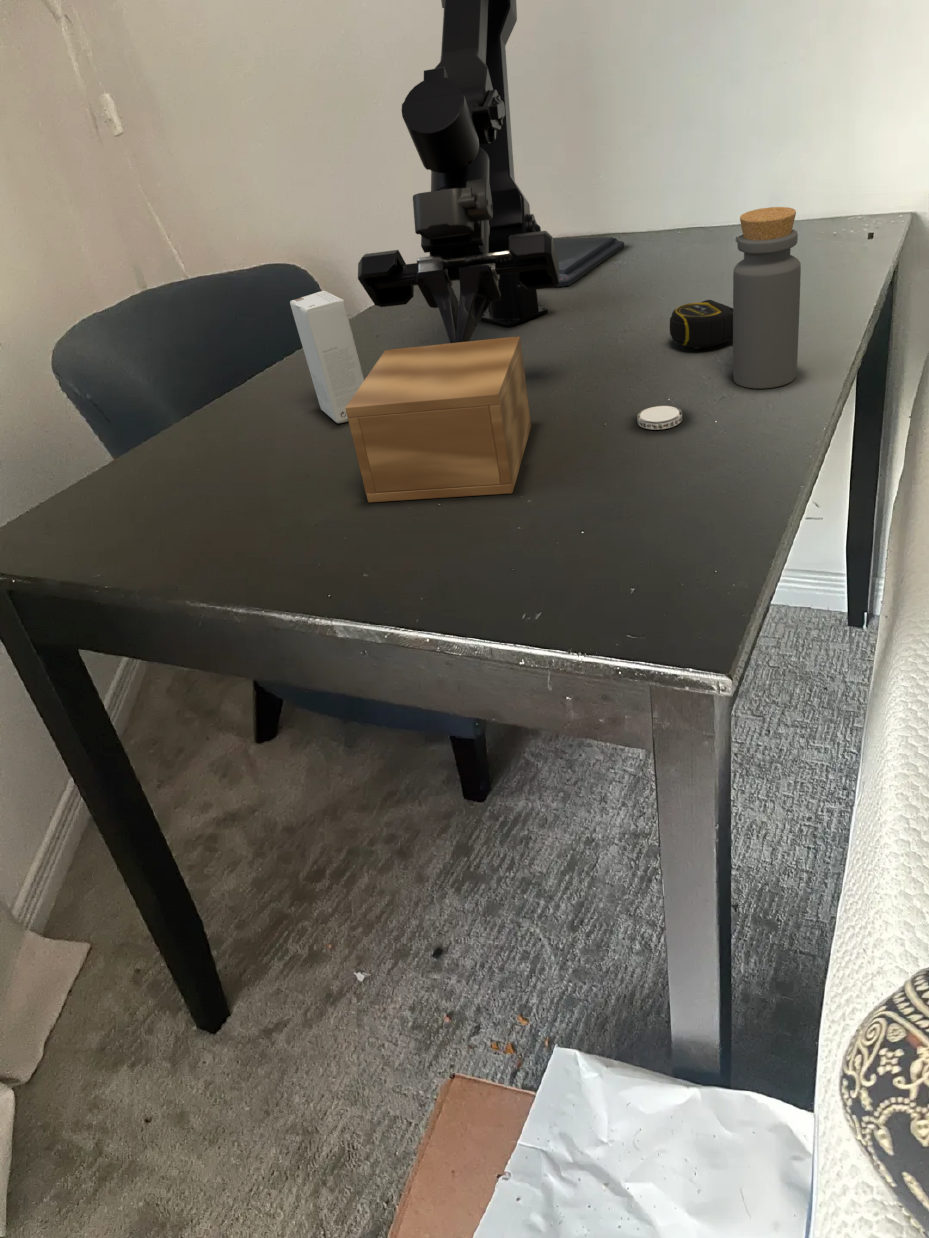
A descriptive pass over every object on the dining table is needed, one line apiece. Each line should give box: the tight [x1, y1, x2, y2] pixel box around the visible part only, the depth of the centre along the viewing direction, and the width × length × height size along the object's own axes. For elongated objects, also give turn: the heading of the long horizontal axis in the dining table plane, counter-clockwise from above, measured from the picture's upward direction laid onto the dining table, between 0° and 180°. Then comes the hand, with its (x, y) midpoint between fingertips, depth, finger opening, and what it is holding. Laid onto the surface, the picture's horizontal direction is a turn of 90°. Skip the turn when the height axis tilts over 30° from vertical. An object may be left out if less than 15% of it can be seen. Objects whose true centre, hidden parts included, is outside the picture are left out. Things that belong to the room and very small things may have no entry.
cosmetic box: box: [289, 290, 365, 424], centre depth 98 cm, size 6×4×12 cm
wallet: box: [553, 236, 625, 288], centre depth 137 cm, size 20×2×15 cm
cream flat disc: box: [636, 405, 683, 430], centre depth 86 cm, size 4×4×1 cm
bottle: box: [732, 206, 802, 390], centre depth 86 cm, size 6×6×15 cm
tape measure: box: [669, 299, 733, 350], centre depth 100 cm, size 7×7×4 cm
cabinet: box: [345, 335, 532, 504], centre depth 83 cm, size 14×13×9 cm
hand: (457, 352), depth 89 cm, fingers closed, pressing on drawer
